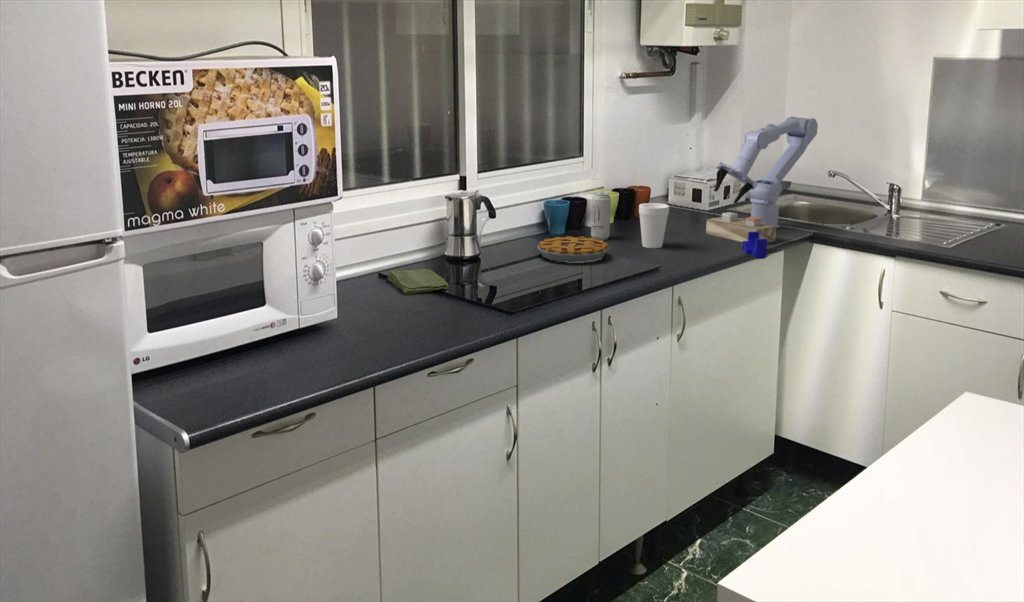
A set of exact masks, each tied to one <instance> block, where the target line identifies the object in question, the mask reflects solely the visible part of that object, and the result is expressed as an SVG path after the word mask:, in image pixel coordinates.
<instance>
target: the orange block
mask: <svg viewBox="0 0 1024 602" xmlns="http://www.w3.org/2000/svg"><path fill="white" fill-rule="evenodd" d="M745 220H746V221H745V225H747V226H752V227H757V226H761V220H762V218H757V217H751V216H749V217H745Z"/></svg>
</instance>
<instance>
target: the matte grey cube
mask: <svg viewBox="0 0 1024 602" xmlns="http://www.w3.org/2000/svg"><path fill="white" fill-rule="evenodd" d="M721 217H722V220H723V221H728V222H733V221H737V218H738V213H736V212H731V211H727V212H722V213H721Z"/></svg>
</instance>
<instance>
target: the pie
mask: <svg viewBox="0 0 1024 602" xmlns="http://www.w3.org/2000/svg"><path fill="white" fill-rule="evenodd" d="M536 248H537V249H538V251H540V254H541V255H542V258H543V259H544V258H547V259H549V260H555V261H568V262H569V261H570V262H575V261H587V260H595V259H599V258H601V257H603V258H604V256H605V255H606V253H607V252H608V251H609V249H610V247H609V244H608V242H605V240H596V239H595V238H593V237H592V236H591V237H589V238H588V237H586V236H578V237H574V236H570V235H566V236H565V237H559V236H557V237H553V238H549V237H547V238H544V240H540V241H539V243H538V245H537V247H536Z"/></svg>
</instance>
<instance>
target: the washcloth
mask: <svg viewBox="0 0 1024 602" xmlns="http://www.w3.org/2000/svg"><path fill="white" fill-rule="evenodd" d="M387 281H389V282H390V283H391V284H392V285H393V286H394V287H396V288H398V289H399V290H401V291H402V292H403V293H404V294H406V295H412V294H419V293H420V294H421V293H428V292H434V291H433V290H437V291H439V290H438V289H444V288H447V290H449V289H448V288H449V284H448V282H447V281H446V279H445V278H443V277H441V276H440V275H438V274H437V273H436V272H435V271H434V270H431V269H430V268H423V269H421V268H419V269H412V270H409V269H408V270H400V269H399V270H390V271H389V273H388V275H387Z"/></svg>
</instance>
